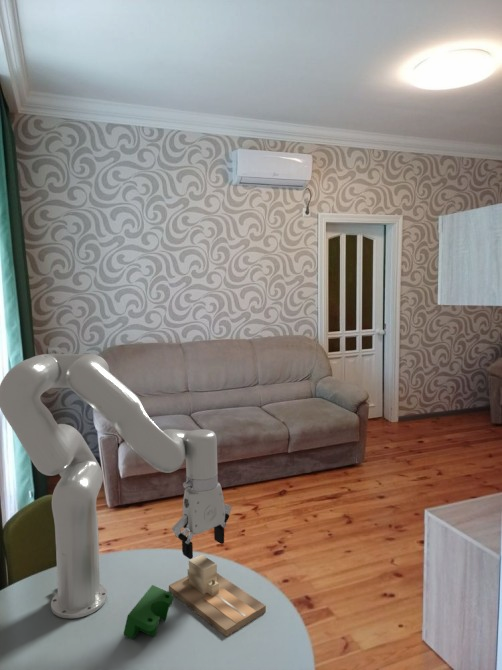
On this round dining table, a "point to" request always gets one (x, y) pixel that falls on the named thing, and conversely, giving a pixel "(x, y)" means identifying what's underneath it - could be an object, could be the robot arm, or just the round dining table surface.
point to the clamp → (148, 612)
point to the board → (220, 604)
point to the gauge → (203, 575)
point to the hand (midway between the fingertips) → (204, 549)
